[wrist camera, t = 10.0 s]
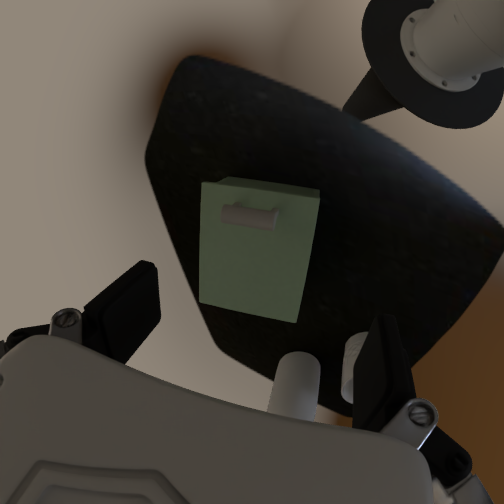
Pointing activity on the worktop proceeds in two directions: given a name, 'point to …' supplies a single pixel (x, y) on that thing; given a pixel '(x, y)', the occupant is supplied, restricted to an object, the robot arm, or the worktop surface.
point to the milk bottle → (296, 386)
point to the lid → (255, 249)
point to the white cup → (351, 364)
